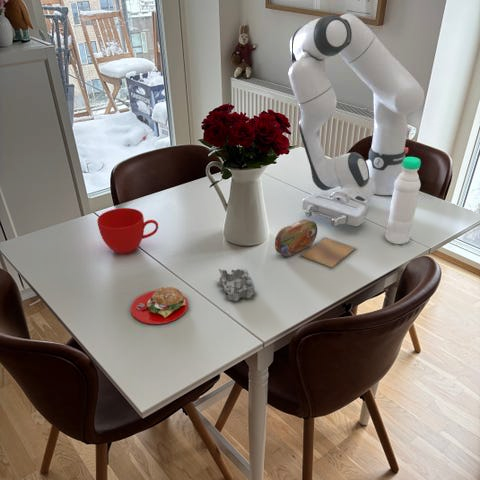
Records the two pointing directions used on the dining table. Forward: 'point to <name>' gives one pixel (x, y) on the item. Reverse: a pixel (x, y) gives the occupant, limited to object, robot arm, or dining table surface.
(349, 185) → the robot arm
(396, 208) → the water bottle
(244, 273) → the grey lumpy block
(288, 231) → the tin
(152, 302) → the hamburger
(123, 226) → the ceramic cup
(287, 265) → the dining table surface
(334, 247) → the cork mat
